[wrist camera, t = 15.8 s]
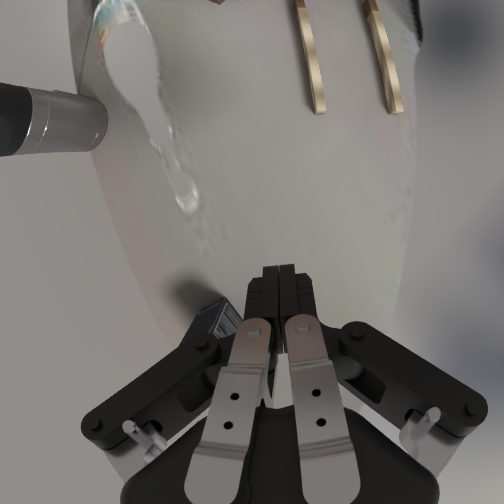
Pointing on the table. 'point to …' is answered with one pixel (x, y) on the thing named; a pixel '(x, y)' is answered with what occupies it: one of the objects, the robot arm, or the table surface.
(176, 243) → the table surface
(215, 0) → the tissue box cover
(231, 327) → the small box
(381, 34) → the chute
